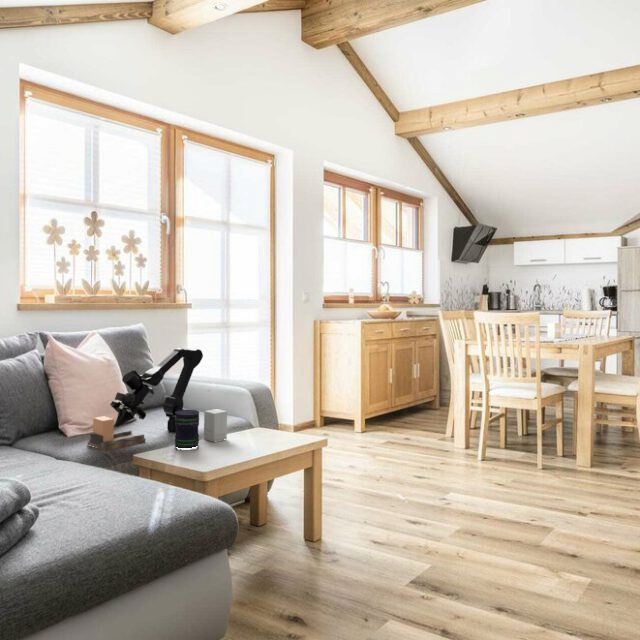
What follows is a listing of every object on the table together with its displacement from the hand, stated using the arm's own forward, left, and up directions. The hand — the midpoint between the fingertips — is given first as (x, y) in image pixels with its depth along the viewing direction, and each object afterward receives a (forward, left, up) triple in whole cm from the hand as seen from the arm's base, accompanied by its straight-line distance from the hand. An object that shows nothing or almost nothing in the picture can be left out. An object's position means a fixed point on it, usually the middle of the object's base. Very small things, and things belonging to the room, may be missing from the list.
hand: (115, 426), depth 272 cm
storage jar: (-29, +8, -8) cm, 31 cm away
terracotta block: (+5, +4, -6) cm, 8 cm away
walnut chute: (0, 0, -7) cm, 7 cm away
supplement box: (-41, -4, -8) cm, 42 cm away
